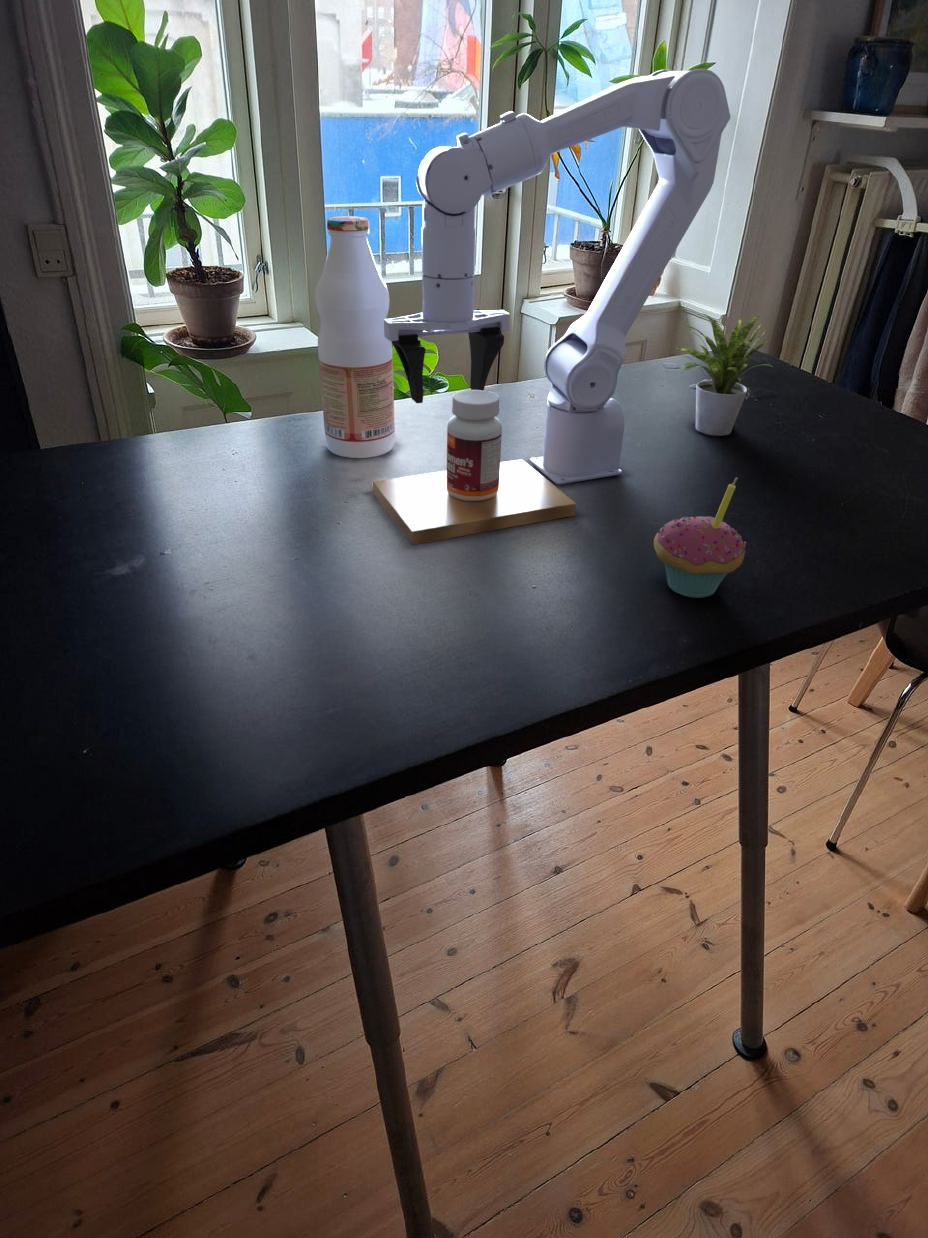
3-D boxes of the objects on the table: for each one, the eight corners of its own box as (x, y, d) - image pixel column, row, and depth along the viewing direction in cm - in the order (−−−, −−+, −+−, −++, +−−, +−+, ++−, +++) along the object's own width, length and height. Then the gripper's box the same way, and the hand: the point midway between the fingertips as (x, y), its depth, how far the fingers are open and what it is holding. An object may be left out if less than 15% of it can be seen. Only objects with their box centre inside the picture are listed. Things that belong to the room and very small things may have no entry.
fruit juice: (316, 456, 106) (295, 221, 91) (338, 431, 114) (322, 211, 98) (385, 462, 105) (375, 225, 89) (402, 437, 112) (397, 214, 97)
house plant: (687, 403, 127) (706, 294, 118) (775, 422, 120) (802, 308, 111) (649, 428, 117) (666, 311, 108) (741, 451, 110) (768, 328, 101)
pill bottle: (435, 492, 94) (435, 396, 87) (469, 476, 98) (471, 384, 91) (476, 508, 90) (479, 409, 84) (509, 491, 94) (514, 396, 88)
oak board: (521, 470, 104) (522, 458, 103) (575, 515, 93) (576, 503, 92) (372, 493, 97) (372, 481, 96) (412, 545, 86) (411, 531, 85)
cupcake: (737, 573, 82) (764, 463, 76) (732, 616, 76) (760, 500, 69) (653, 559, 85) (671, 451, 78) (641, 599, 78) (660, 484, 71)
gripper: (397, 285, 82) (400, 414, 90) (524, 277, 87) (517, 400, 95) (376, 272, 88) (380, 395, 95) (496, 265, 92) (492, 383, 100)
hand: (447, 396), depth 95 cm, fingers open, 7 cm apart
